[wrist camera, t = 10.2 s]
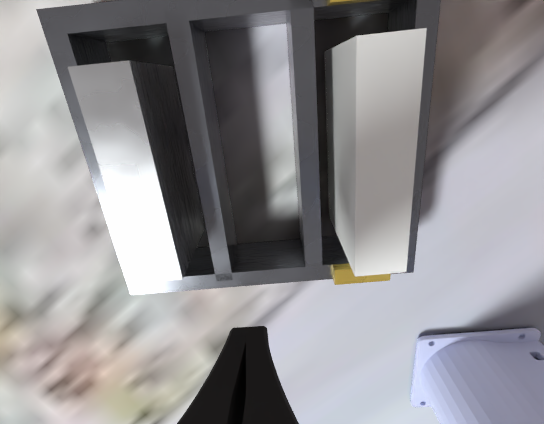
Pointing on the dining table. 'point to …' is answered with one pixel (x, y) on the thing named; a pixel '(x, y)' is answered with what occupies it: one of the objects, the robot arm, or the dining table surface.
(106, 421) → the dining table surface
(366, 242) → the block
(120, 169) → the rack
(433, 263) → the dining table surface
